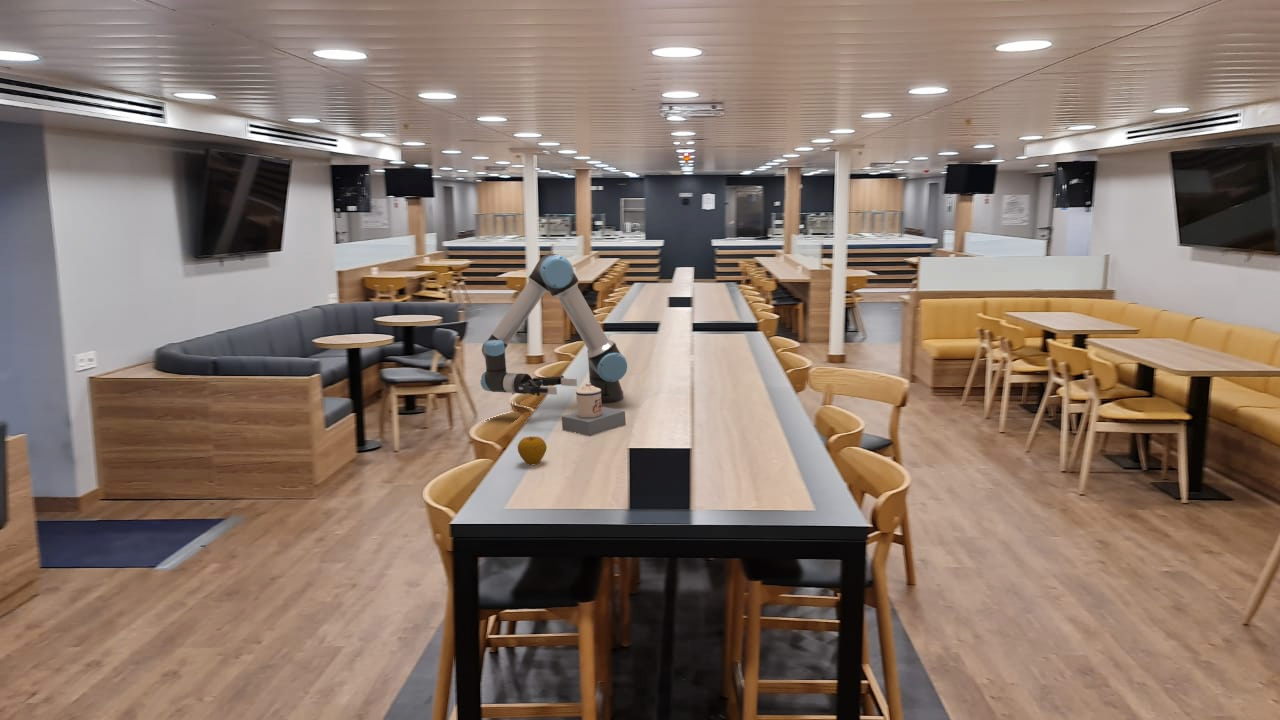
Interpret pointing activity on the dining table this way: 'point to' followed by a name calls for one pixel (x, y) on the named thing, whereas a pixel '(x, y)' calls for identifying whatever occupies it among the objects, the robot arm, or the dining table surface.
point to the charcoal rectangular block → (594, 422)
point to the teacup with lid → (589, 401)
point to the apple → (532, 449)
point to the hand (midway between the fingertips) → (566, 386)
